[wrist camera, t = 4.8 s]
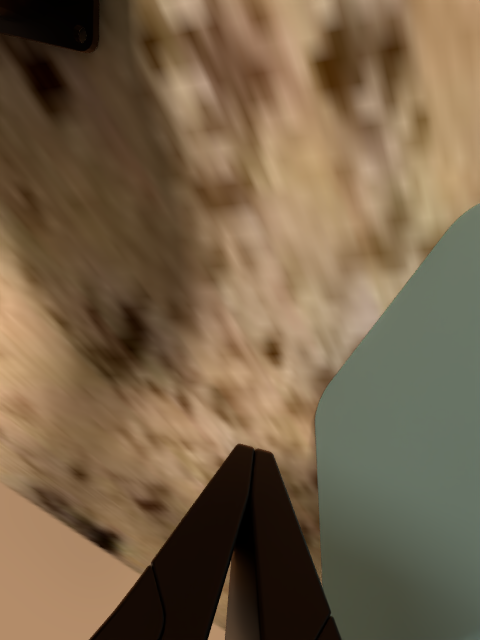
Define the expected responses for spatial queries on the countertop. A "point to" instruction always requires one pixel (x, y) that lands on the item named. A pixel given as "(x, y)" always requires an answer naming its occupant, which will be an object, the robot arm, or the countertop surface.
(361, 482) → the data package
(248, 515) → the robot arm
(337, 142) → the countertop surface
